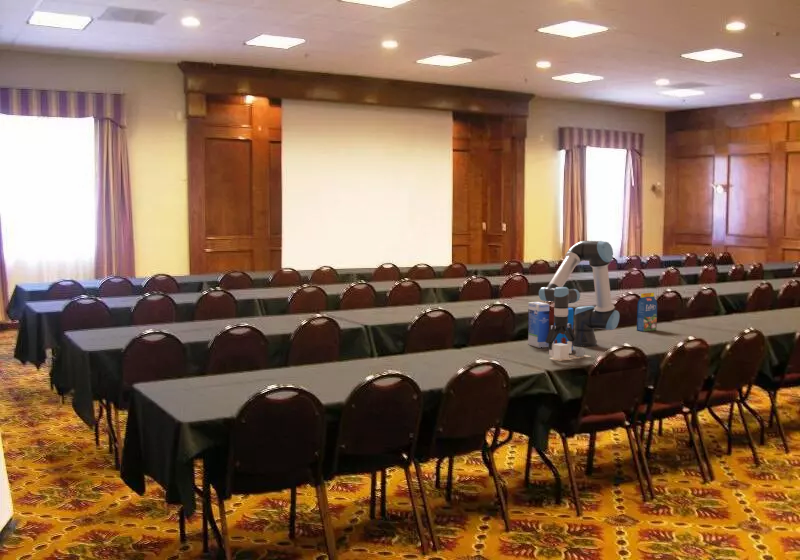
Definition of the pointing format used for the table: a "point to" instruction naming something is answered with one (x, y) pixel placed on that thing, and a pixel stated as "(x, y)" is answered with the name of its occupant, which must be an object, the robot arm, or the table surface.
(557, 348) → the white tilted cube
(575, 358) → the board
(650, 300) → the blue food package
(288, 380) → the table surface
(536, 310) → the string lights box
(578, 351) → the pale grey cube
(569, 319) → the thermos
